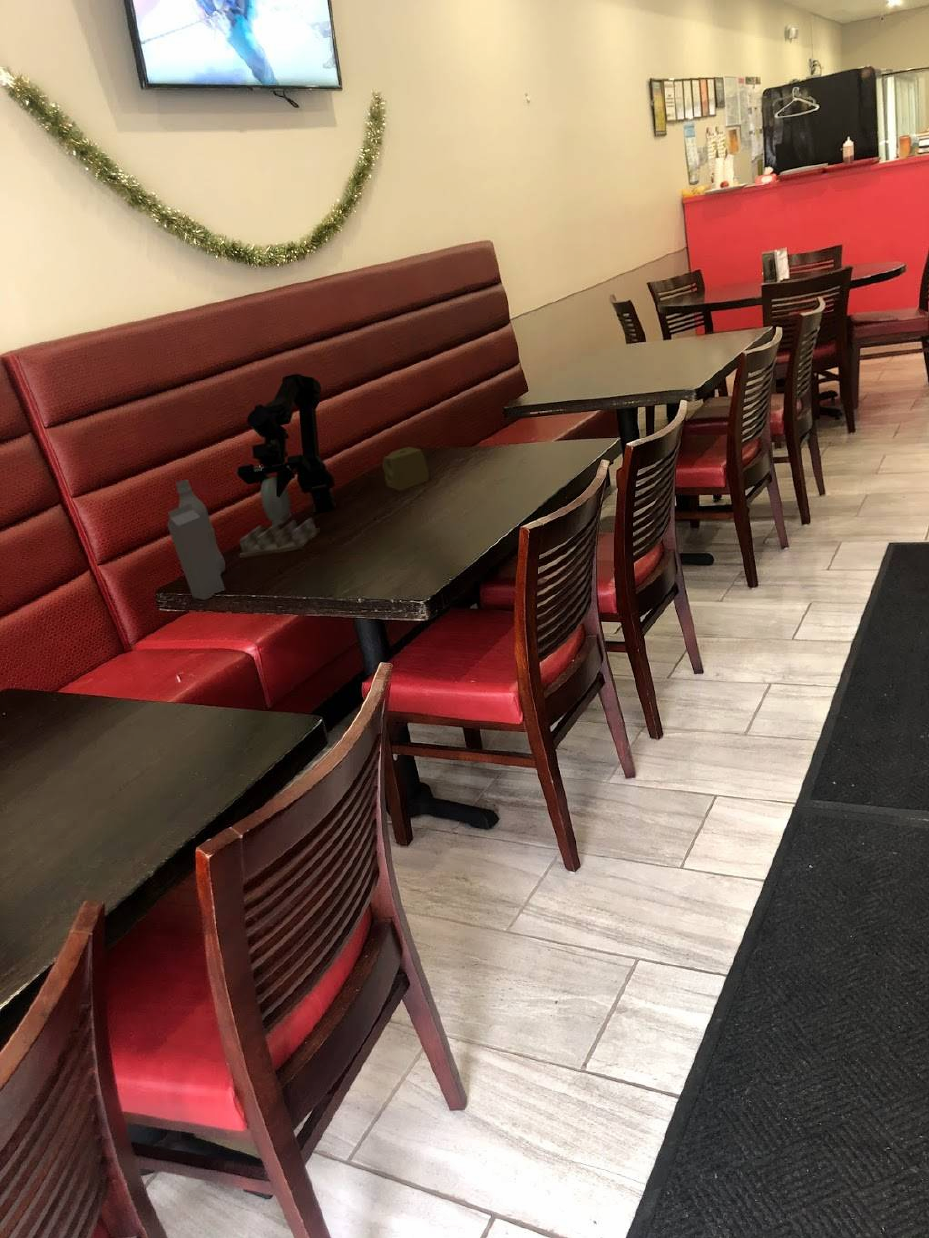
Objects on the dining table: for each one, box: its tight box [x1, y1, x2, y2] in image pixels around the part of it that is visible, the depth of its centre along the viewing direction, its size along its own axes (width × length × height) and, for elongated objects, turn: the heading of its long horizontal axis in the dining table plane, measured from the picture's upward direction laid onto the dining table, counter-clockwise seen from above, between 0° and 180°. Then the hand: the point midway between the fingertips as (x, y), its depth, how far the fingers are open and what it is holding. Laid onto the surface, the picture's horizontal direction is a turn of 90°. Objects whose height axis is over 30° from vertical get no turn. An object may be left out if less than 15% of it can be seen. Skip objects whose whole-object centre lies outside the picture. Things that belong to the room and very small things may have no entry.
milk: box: [166, 504, 226, 601], centre depth 235 cm, size 6×6×22 cm
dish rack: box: [238, 517, 322, 559], centre depth 265 cm, size 14×18×4 cm
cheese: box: [382, 446, 430, 492], centre depth 296 cm, size 10×11×10 cm
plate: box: [260, 476, 292, 526], centre depth 261 cm, size 12×3×12 cm, turn 169°
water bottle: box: [175, 479, 226, 576], centre depth 249 cm, size 7×7×25 cm
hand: (272, 497), depth 259 cm, fingers closed on plate, 3 cm apart
